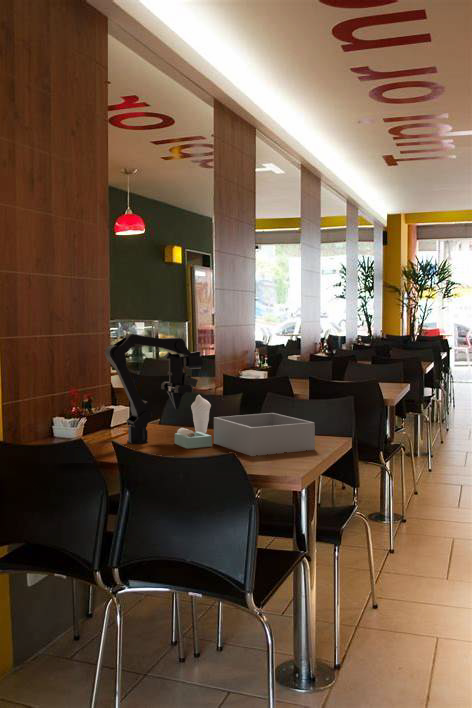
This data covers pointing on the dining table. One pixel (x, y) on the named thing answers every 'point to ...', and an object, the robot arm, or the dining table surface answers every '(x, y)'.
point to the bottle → (186, 432)
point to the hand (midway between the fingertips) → (176, 408)
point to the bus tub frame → (264, 433)
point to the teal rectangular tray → (193, 440)
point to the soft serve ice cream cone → (200, 414)
